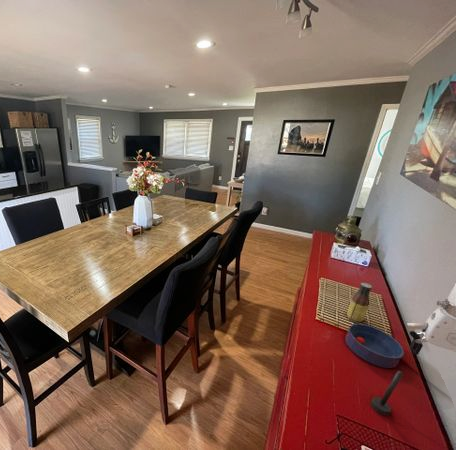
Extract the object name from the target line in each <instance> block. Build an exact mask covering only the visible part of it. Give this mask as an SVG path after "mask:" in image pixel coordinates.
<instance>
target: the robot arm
mask: <svg viewBox="0 0 456 450" xmlns="http://www.w3.org/2000/svg"><path fill="white" fill-rule="evenodd" d="M436 305H437V306H438V307H437V308H436V309H435V310H434V311H433V312H432V313H431V314H430V315H429V317H427V319H426V321H425V322H406V324H405V325H406V327H407V330H408V333H409V335H410V337H411V338H412V340H411V342H410V344H409V345H410V346H409V347H410V349H411V350H412V353H413V355H417V356H418V355H419V354H420V352H421V350H422V348H423V347H424V345H423V343H429V344H431V345H434V346H436V347H440V348H443V349H446V350H449V351H452V352H455V353H456V283H454V286H453V287H452V290H451V291H450V293H449V294H448V297H446V298H445V299H444V300H438V301H436ZM415 330H421V331H420V332H416V331H415Z"/></svg>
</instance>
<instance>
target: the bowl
mask: <svg viewBox="0 0 456 450" xmlns="http://www.w3.org/2000/svg"><path fill="white" fill-rule="evenodd" d="M357 337H361V338H363V339H364V341H365V343H364V344H363V345H362V344H361V343H359V342H358V341H357V340H356V338H357ZM344 340H345V343H346V345H347V347H348V348H349V349H350V350H351V351H352V352H353V353H354V354H355V355H356V356H357V357H359V358H361V359H362V360H364V361H365V362H368V363H370V364H372V365H374V366H377V367H380V368H385V369H386V368H387V369H392V368H396V367H397V366H398V365H399V363H401V360H402V358H403V356H404V355H405V352H404V351H405V350H404V348H403V347H402V345H401V344H400V343H399V342H398V341H397V340H396V339H395V338H394V337H392V336H391V335H390V334H388V333H387V332H385V331H384V330H381V329H380V328H378V327H374V326H371V325H368V324H364V323H353V324H352V325H350V326H349V328H348V329H347V332H346V334H345V337H344Z"/></svg>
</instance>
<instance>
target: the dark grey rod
mask: <svg viewBox="0 0 456 450" xmlns="http://www.w3.org/2000/svg"><path fill="white" fill-rule="evenodd" d="M403 375H404V373H403V372H402V371H401V370H398V371H397V372H396V373H395V374H394V377H393V378H392V380H391V382H390V384H389V385H388V387H387V389H386V390H385V392H384V393H383V395H382V397H378V396H373V397H372V398H371V401H370V406H371V407H372V409H373V410H374V411H375V412H376V413H377V414H379V415H382V416H385V417H386V415H387V416H389V414H391V411H392V408H391V406H390V404H389V403H388V401H389V399H390V398H391V395H392V394H393V392H394V391H395V388H396V387H397V386H398V383H399V382H400V380H401V379H402V377H403Z"/></svg>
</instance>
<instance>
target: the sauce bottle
mask: <svg viewBox="0 0 456 450" xmlns="http://www.w3.org/2000/svg"><path fill="white" fill-rule="evenodd" d="M372 289H373V286H372V285H371V284H369V283H366V282H361V283H360V284H359V288H358V291H356V292H355V293H354V294H353V296H352V299H351V301H350V304H349V307H348V309H347V312H346V319H347V320H348V321H349V322H351V323H353V322H354V323H362V322H363V321H364V319H365V316H366V313H367V311H368V308H369V306H370V293H371V291H372Z"/></svg>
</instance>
